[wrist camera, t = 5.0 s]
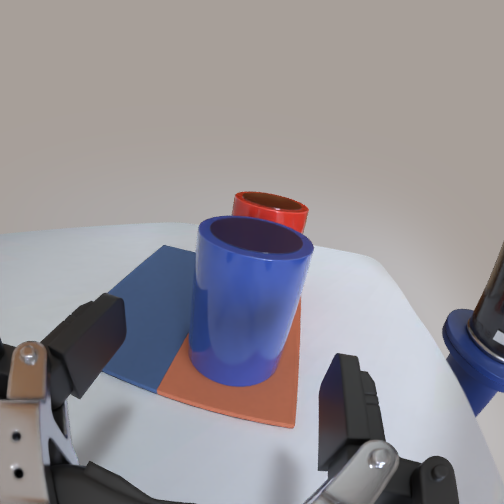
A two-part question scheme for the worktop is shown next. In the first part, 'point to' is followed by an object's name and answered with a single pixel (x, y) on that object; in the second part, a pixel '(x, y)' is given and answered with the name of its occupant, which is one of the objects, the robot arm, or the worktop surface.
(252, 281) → the blue beaker
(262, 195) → the red beaker
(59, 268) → the worktop surface
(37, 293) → the worktop surface
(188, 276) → the sorting mat
